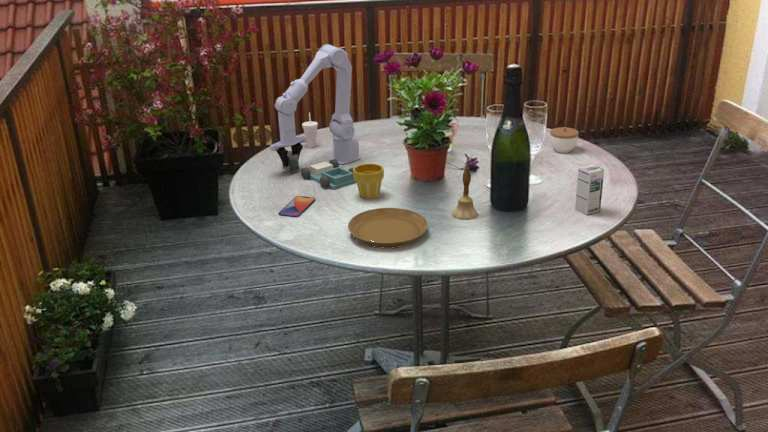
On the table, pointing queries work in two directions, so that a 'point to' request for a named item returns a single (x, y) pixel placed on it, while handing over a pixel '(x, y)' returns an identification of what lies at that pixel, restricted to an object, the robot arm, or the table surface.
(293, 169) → the dark grey upright block
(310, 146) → the smoothie
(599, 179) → the syrup box
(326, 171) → the chassis
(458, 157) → the table surface
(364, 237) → the plant saucer
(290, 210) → the smartphone
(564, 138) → the lidded jar
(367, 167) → the plant pot
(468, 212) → the hand bell
